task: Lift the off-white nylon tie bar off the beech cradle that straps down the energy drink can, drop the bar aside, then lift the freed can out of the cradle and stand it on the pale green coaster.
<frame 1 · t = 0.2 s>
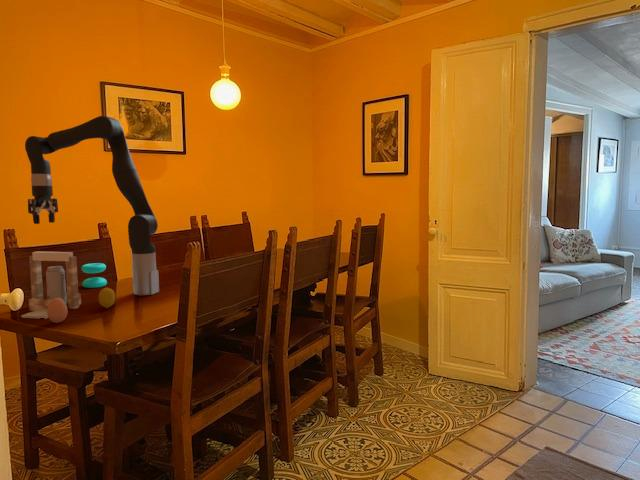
hand: (44, 223, 192), 29 cm above the table, tool pointing down, fingers open, 8 cm apart
egg: (58, 323, 147), on the table
tie bar: (53, 260, 165), point 17 cm above the table, touching cradle
donuts: (94, 286, 204), on the table
energy drink can: (57, 307, 167), resting in cradle
cradle: (55, 307, 167), on the table
coaster: (43, 314, 157), on the table
lemon: (107, 308, 165), on the table
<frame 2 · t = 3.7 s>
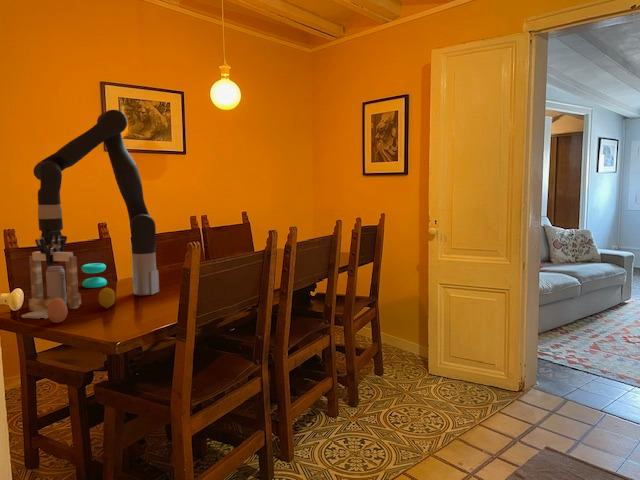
hand: (53, 264, 165), 16 cm above the table, tool pointing down, fingers closed on tie bar, 2 cm apart
tie bar: (53, 260, 165), point 18 cm above the table, touching cradle, gripper
everything else where it was.
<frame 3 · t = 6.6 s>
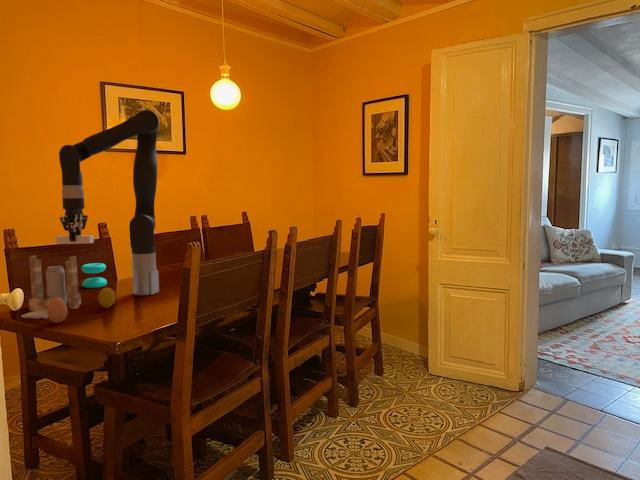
hand: (75, 240, 178), 23 cm above the table, tool pointing down, fingers closed on tie bar, 2 cm apart
tie bar: (75, 243, 178), point 22 cm above the table, touching gripper
everything else where it was.
when the fingers open (2 cm above the table, at t = 9.1 s): tie bar drops 1 cm, on the table.
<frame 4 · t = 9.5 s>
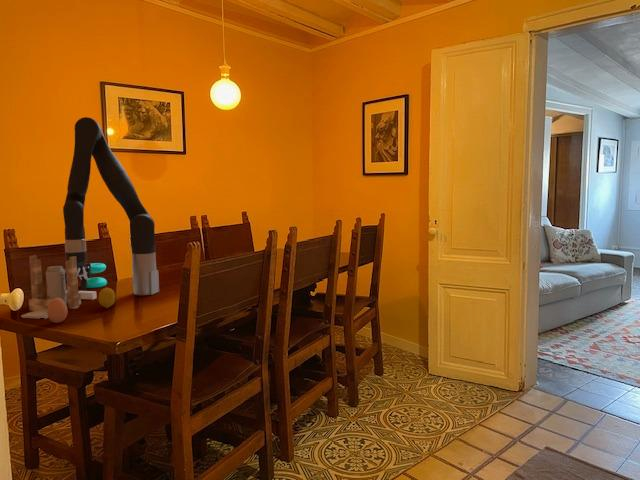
hand: (78, 291, 180), 3 cm above the table, tool pointing down, fingers open, 6 cm apart
tie bar: (78, 298, 181), on the table
everything else where it was.
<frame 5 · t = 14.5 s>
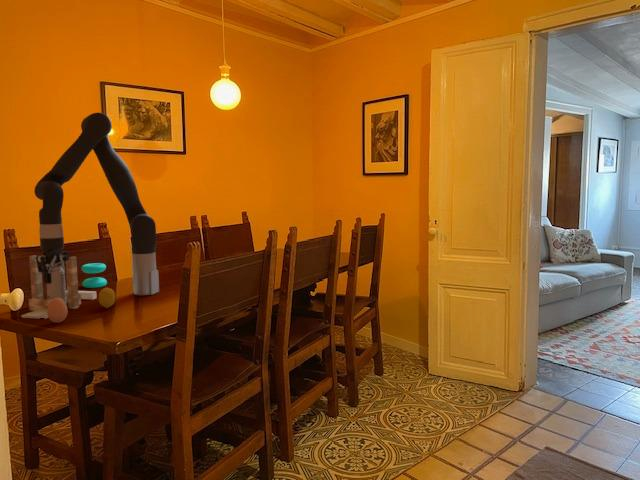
hand: (54, 281, 166), 10 cm above the table, tool pointing down, fingers closed on energy drink can, 6 cm apart
energy drink can: (57, 307, 167), resting in cradle, touching gripper
everything else where it was.
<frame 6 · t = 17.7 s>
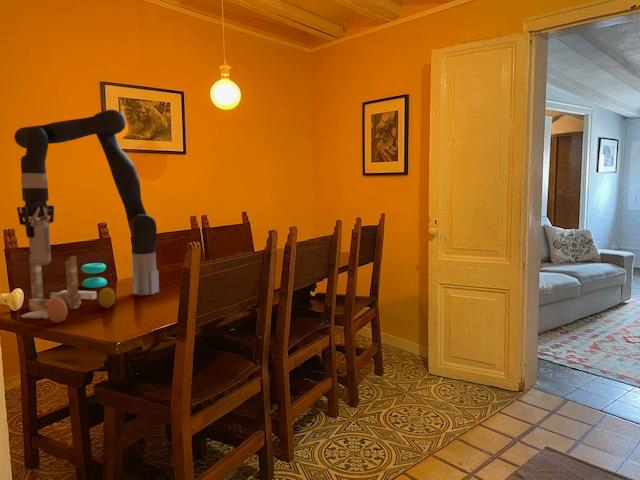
hand: (38, 236, 154), 27 cm above the table, tool pointing down, fingers closed on energy drink can, 6 cm apart
energy drink can: (41, 264, 155), point 18 cm above the table, touching gripper
everything else where it was.
when the fingers open (11 cm above the table, at t = 21.0 s): energy drink can drops 1 cm, resting on coaster.
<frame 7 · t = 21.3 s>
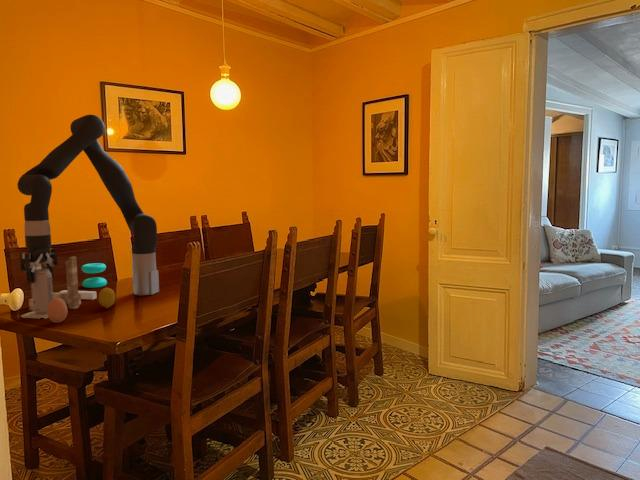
hand: (40, 280, 155), 12 cm above the table, tool pointing down, fingers open, 8 cm apart
energy drink can: (44, 313, 156), point 1 cm above the table, touching coaster
everything else where it was.
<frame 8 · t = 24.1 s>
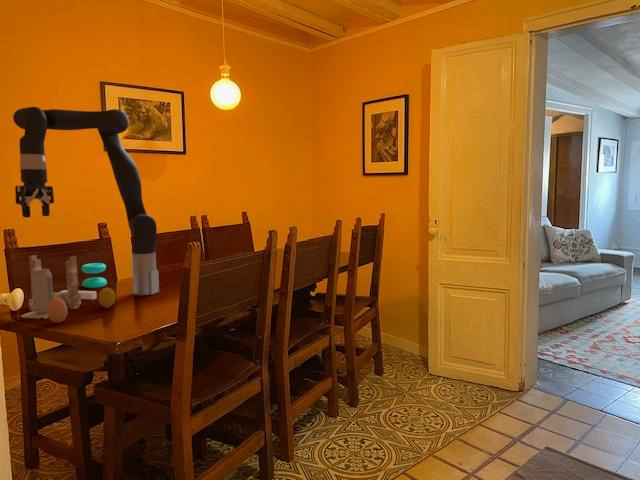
hand: (36, 216, 153), 34 cm above the table, tool pointing down, fingers open, 8 cm apart
nothing on the table moved.
at the end: energy drink can inside the target area on the coaster (0.4 cm from its centre), point 0.6 cm above the coaster's base; energy drink can tilted 0°; tie bar moved 22.8 cm from its start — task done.
